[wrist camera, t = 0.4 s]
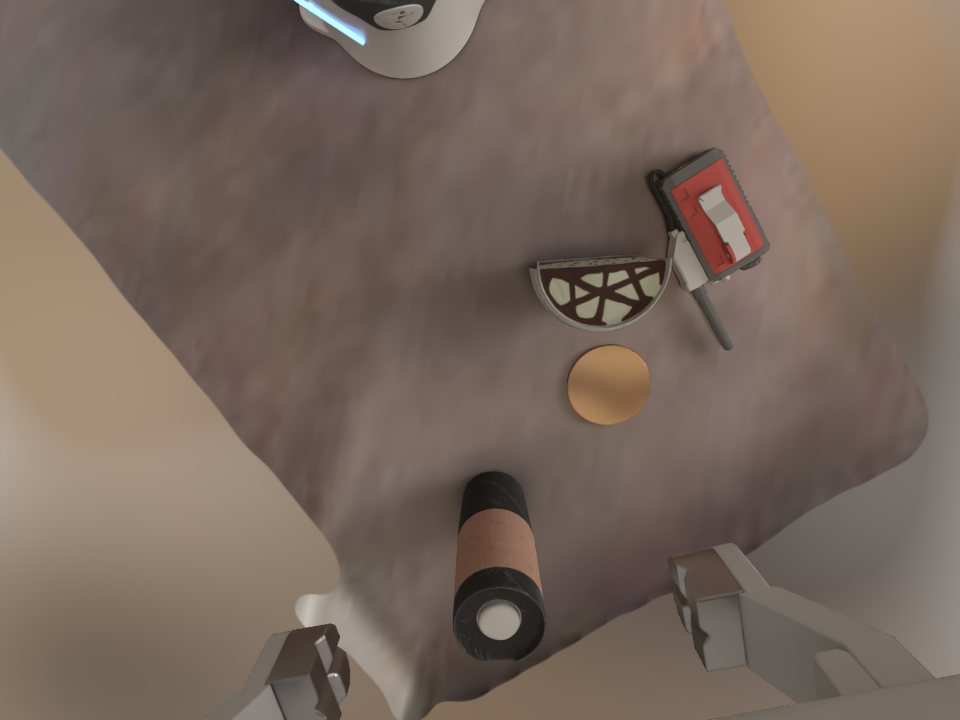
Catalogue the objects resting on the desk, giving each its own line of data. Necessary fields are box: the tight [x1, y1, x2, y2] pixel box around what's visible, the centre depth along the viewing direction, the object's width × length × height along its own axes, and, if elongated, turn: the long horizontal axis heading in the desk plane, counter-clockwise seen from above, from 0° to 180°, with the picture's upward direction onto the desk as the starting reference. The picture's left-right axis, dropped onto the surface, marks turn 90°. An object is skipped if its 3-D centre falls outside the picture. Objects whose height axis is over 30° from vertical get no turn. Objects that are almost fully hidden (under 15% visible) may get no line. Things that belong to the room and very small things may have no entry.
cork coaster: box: [567, 345, 650, 425], centre depth 57 cm, size 9×9×1 cm
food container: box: [529, 255, 672, 331], centre depth 50 cm, size 12×6×10 cm, turn 94°
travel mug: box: [453, 472, 546, 663], centre depth 51 cm, size 8×8×20 cm
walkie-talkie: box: [648, 148, 770, 350], centre depth 51 cm, size 9×4×20 cm
